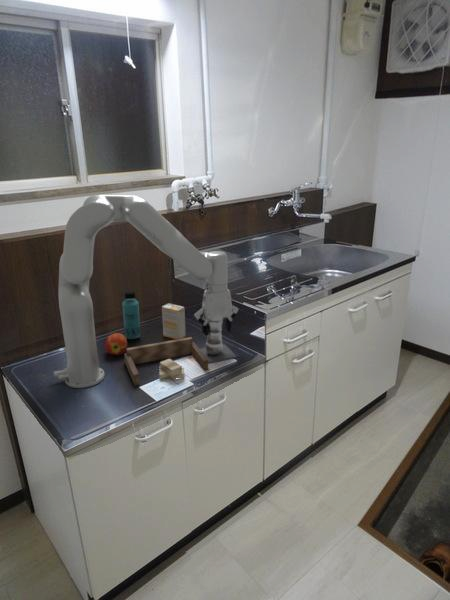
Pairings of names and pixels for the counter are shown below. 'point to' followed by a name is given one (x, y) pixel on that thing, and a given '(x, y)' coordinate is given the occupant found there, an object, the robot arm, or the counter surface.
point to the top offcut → (170, 367)
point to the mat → (219, 355)
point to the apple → (116, 344)
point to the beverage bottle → (131, 316)
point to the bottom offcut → (166, 376)
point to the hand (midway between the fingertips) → (216, 332)
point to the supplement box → (173, 321)
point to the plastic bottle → (214, 336)
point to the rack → (162, 354)
